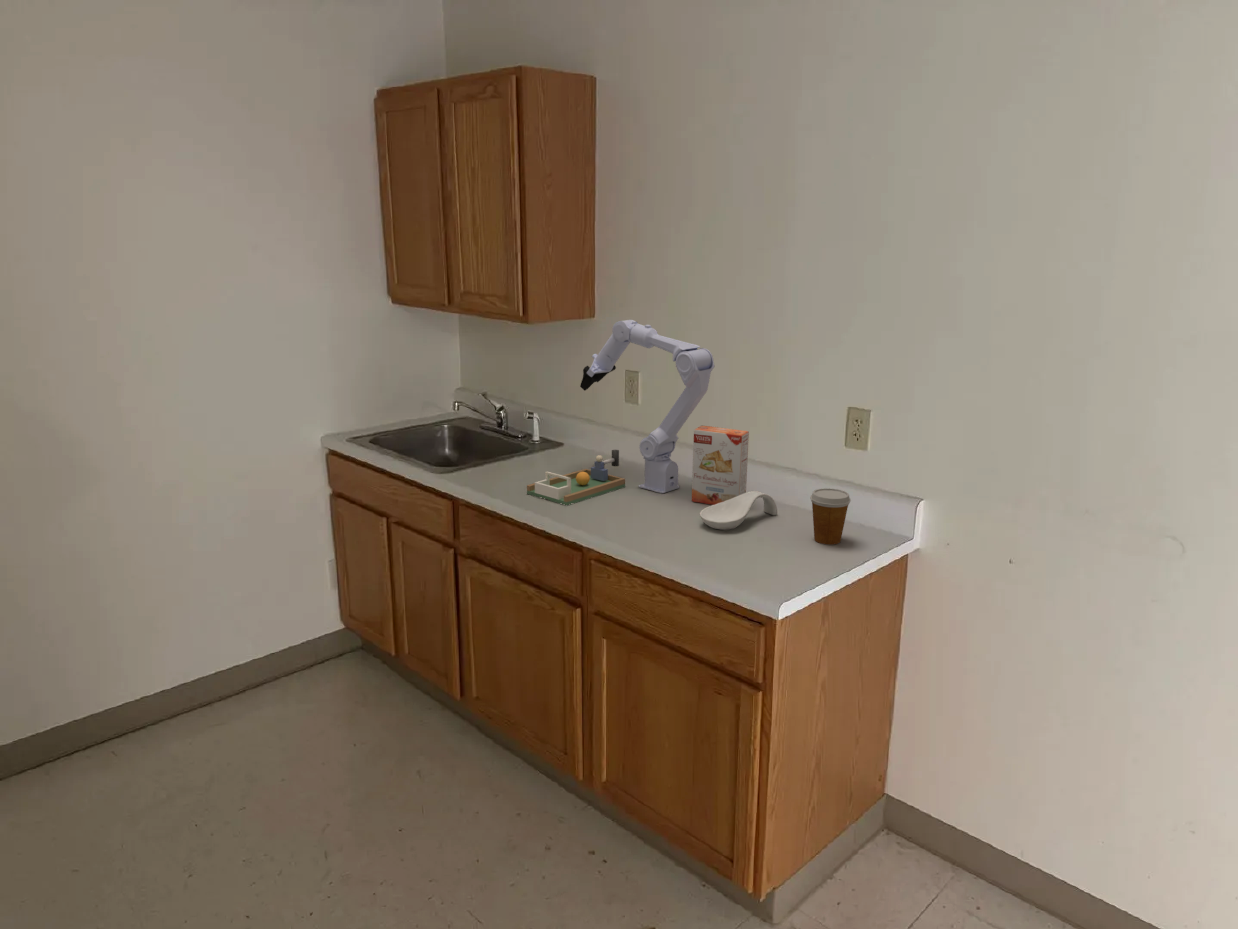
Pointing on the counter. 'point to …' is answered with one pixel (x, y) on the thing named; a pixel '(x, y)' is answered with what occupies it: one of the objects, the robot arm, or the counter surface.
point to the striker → (599, 470)
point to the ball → (582, 478)
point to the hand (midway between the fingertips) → (589, 384)
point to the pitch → (572, 487)
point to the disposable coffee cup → (829, 514)
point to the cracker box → (719, 464)
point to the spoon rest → (735, 510)
